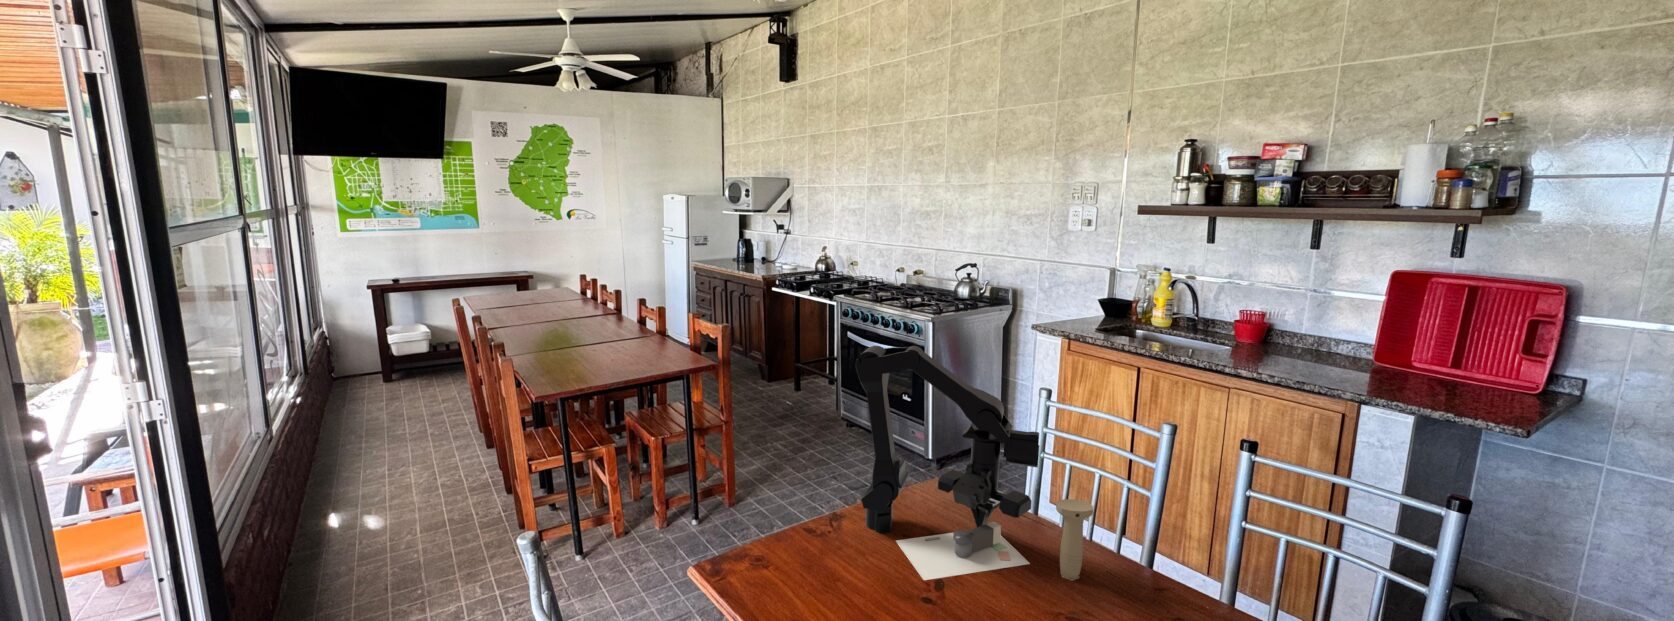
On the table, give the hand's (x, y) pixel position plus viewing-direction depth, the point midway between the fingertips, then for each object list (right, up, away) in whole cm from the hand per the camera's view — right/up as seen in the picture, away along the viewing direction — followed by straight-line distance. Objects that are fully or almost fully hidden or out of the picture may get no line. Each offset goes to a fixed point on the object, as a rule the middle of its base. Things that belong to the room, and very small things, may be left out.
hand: (980, 531), depth 141 cm
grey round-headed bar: (-2, -2, -4) cm, 5 cm away
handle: (+14, -5, -12) cm, 19 cm away
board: (-5, -4, -4) cm, 7 cm away
